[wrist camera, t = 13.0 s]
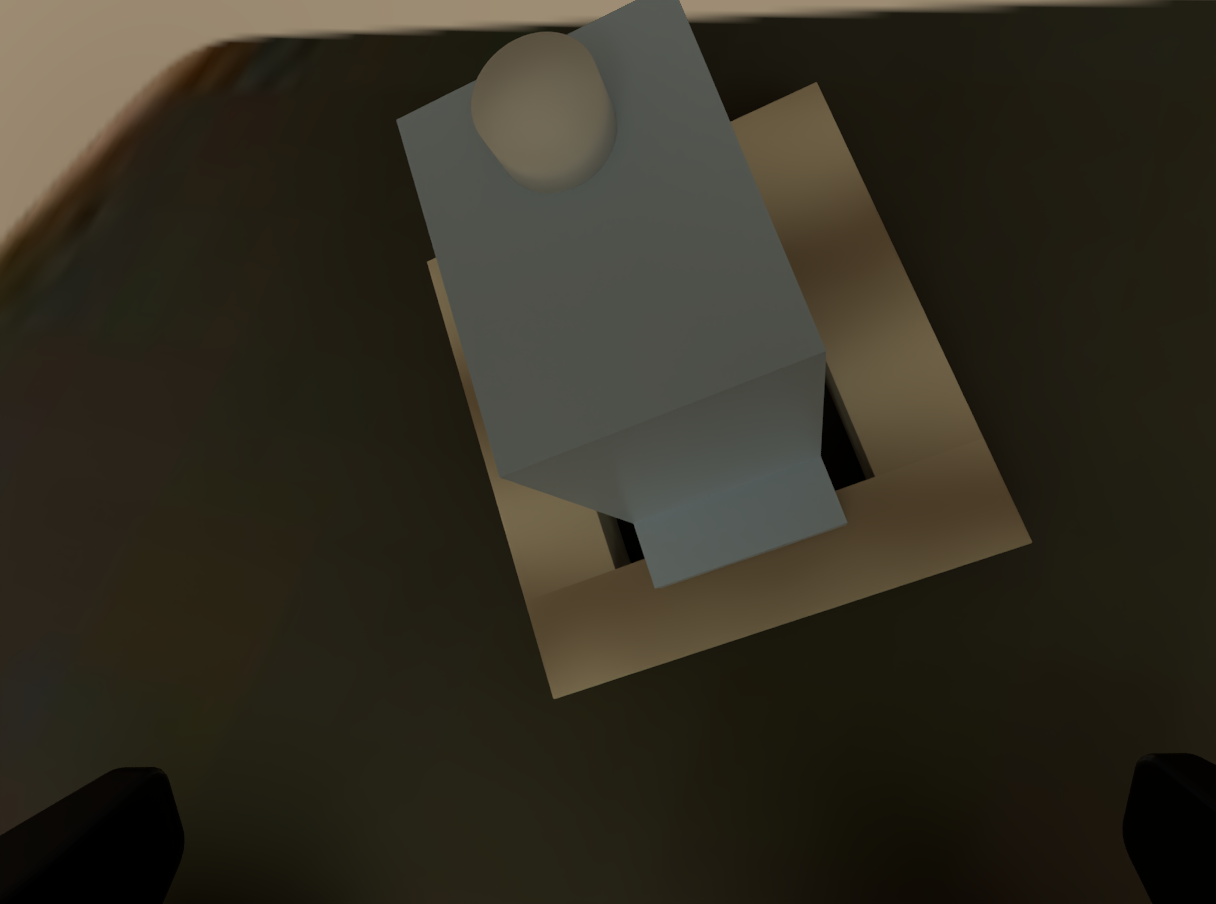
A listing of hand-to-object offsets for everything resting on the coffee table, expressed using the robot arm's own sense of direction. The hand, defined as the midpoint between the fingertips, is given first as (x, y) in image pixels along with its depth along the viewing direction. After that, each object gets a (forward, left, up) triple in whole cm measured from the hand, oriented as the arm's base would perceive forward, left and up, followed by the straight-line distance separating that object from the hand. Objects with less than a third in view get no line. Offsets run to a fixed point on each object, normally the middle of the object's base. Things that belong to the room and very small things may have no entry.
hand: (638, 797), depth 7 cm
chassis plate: (+6, -4, -13) cm, 15 cm away
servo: (+6, -4, -13) cm, 15 cm away
